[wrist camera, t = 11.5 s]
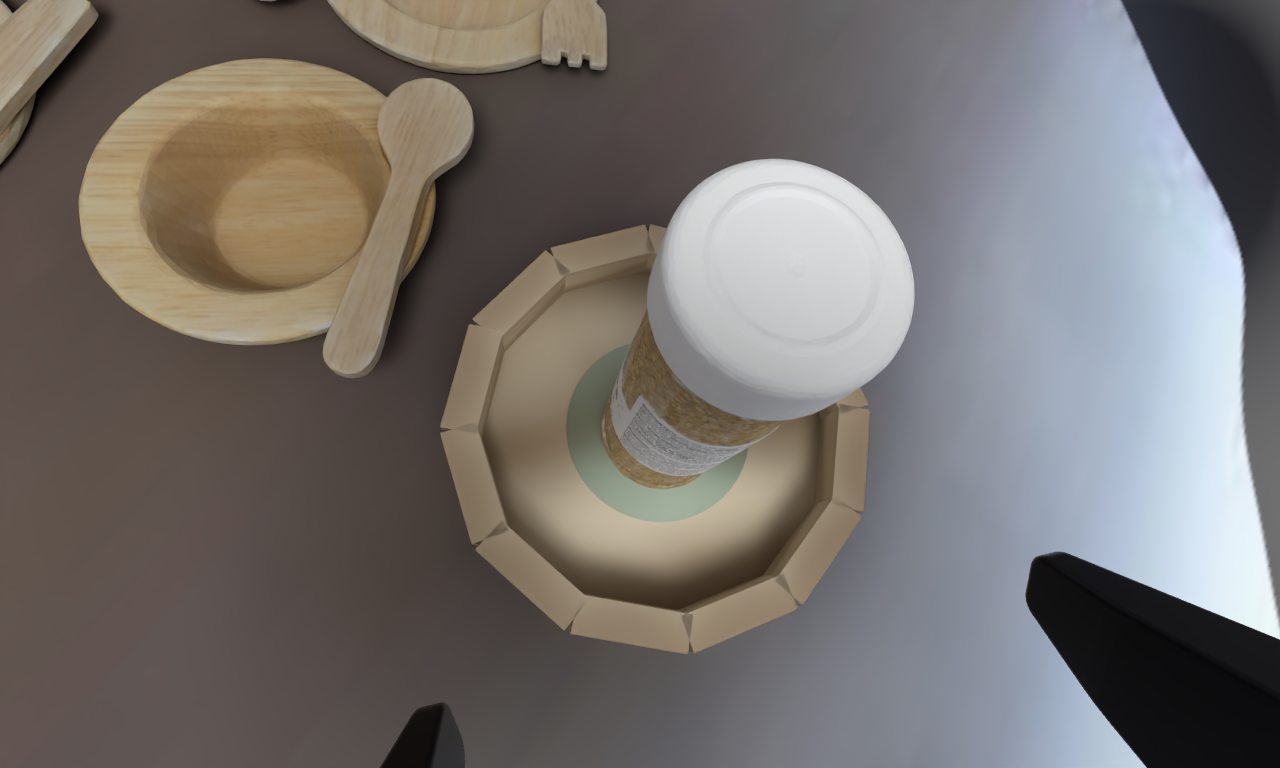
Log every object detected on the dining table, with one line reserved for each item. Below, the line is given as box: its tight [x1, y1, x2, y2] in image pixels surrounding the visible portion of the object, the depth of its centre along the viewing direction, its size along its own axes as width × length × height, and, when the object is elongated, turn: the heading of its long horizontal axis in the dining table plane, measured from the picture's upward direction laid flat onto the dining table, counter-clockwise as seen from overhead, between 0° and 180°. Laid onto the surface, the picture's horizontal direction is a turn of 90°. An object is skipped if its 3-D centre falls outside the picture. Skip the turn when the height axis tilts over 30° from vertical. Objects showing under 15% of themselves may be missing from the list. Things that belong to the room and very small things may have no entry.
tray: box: [440, 224, 870, 654], centre depth 23 cm, size 15×15×2 cm
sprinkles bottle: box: [601, 159, 914, 490], centre depth 17 cm, size 5×5×14 cm
